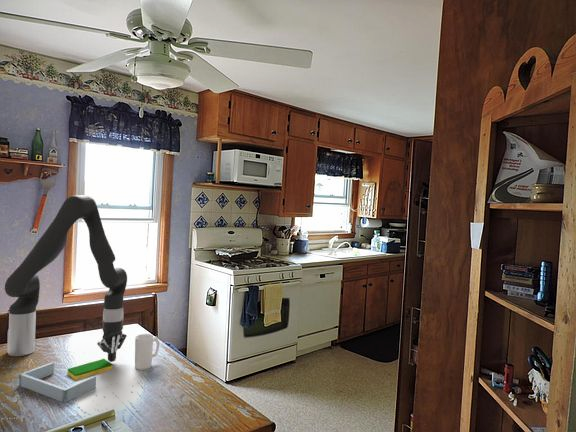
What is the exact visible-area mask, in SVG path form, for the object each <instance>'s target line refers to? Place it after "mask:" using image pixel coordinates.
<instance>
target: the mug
mask: <svg viewBox="0 0 576 432" xmlns="http://www.w3.org/2000/svg"><path fill="white" fill-rule="evenodd" d="M134 338H135V339H134V340H135V341H134V342H135V343H134V347H135V348H134V368H135V369H137V370H141V371H142V370H148V369H150V368H151V367H152V362H153V358H155V357H157V355H158V352H159V350H160V341H159V339H158V338H159V337H158V336H154V335H153V334H151V333H150V334H149V333H142V334H137V335H136V336H135V337H134ZM154 342H155V344H156V347H155V350H154V352H153V349H154Z"/></svg>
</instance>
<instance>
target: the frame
mask: <svg viewBox="0 0 576 432" xmlns="http://www.w3.org/2000/svg"><path fill="white" fill-rule="evenodd" d="M54 373H55V362H53V361H52V362H49V363H47V364H44V365H41V366H38V367H36V368H33V369H30V370H27V371H25V372H22V373H19V376H18V377H19V381H18V386H20V387H21V388H25V389H27V390H30V391H32V392H34V393H35V392H36V393H37V394H41V395H43V396H45V397H48V398H51V399H54V400H56V401H59V402H62V403H66V402H69V401H71V400H73V399H75V398H77V397H79V396H81V395H83V394H85V393H87V392H90V391H92V390H94V389H95V388H97V375H92V376H89V378H88V377H87V378H86V379H84V380H82V381H79V382H77V383H75V384H72V385H71V386H68V387H63V386H60V385H57V384H54V383H52V382H49V381H45V380H43V378H45V377H48V376H50V375H53V374H54Z"/></svg>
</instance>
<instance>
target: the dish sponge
mask: <svg viewBox="0 0 576 432" xmlns="http://www.w3.org/2000/svg"><path fill="white" fill-rule="evenodd" d="M112 369H113V362H109V361H108V359H105V358H102V359H98V360H94V361H92V362H87V363H84V364H80V365H77V366H73V367H68V368H67V375H68V376H70V377H71V378H73V380H75V381H76V380H80V379H84V378H88V377H92V376H95V375H97V374H100V373H104V372H107V371H110V370H112Z"/></svg>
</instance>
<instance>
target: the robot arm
mask: <svg viewBox="0 0 576 432" xmlns="http://www.w3.org/2000/svg"><path fill="white" fill-rule="evenodd" d="M79 219H83V221H84V222H85V224H86V226H87V229H88V236H89V237H88V238H89V248H90V251H91V254H92V255H93V259H94V260H95V262H96V264H97V269H98V270H97V271H98V276H99V280H100V282H101V283H102V285H103V286H104V287H105V288H107V289H108V291H107V292H106V294H104V300H103V313H102V332H103V335H102V339H101V340H100V341H98V342H97V346H98V347H99V348H100V349H101V350H102V352H104V353H107V361H108V362H110V363H113V362H116V359H117V352H118V350H119V349H121V348H122V346H123V344H124V342H125V340H126V339H127V337H128V336H127V334H125V333H123V329H124V295H125V291H126V288H127V285H128V284H127V283H128V274H127V271H126V270H125V269H123V268H122V267H115V266H114V262H115V261H116V255H115V254H114V253H115V252H114V251H113V249H112V246H111V245H110V243H109V241H108V238H107V235H106V231H105V229H104V227H103V223H102V220H101V216H100V212H99V209H98V205H97V203H96V201H95V199H94V198H93V197H92V196H90V195H84V194H76V195H74V194H73V195H71V196H69V197H67V198H66V199H65V200H64V201H63V203H62V204H61V207H60V208H59V210H58V212H57V214H56V215H55V217H54V219H53V220H52V222H51V223H50V224H49V226H48V227H47V229H46V230H45V231H44V232H43V234H42V235H41V236H40V238H39V239H38V240H37V242H36V243H35V245H34V246H33V247H32V249H31V250H30V251H29V253H28V254H27V256H26V257H25V258H24V259H23V261H22V262H21V264H20V265H19V266H18V267H17V268H16V269H15V270H14V271H13V272H12V273H11V274H10V275H9V276H8V278H7V279H6V281H5V284H4V292H5V294H6V295H7V296H8V297H10V298H17V299H16V300H15V301H14V302H13V303H12V304H11V305H10V306H9V310H8V314H9V315H8V330H7V347H6V353H7V355H8V356H10V357H22V356H27V355H30V354H33V353H34V352H35V351H36V350H35V347H36V346H35V344H36V322H37V321H36V320H37V319H36V318H37V314H36V313H37V306H38V304H39V299H40V288H41V285H40V284H41V283H40V278H39V276H38V275H37V274H38V273H39V272H40V271H41V270H43V269H45V268H46V267H47V266H49V265H50V264H51V263H52V262H54V261H55V260H56V259H57V258H58V256H60V254H61V253H62V251H63V250H64V248H65V246H66V245H67V240H68V233H69V232H70V229H72V227H73V225H74V224H75V223H76V222H77V221H78V220H79Z"/></svg>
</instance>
